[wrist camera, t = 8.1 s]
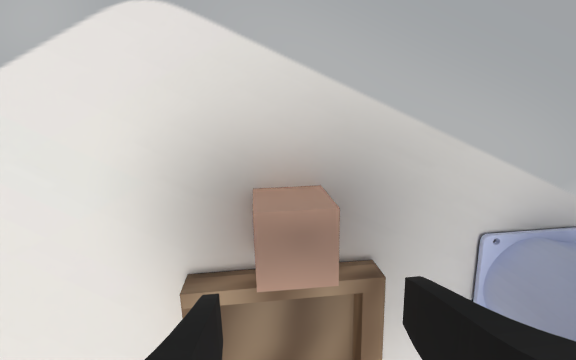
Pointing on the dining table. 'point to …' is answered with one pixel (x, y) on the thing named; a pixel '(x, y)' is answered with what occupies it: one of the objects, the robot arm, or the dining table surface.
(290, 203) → the block
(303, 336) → the board
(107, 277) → the dining table surface
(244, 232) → the dining table surface
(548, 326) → the robot arm
